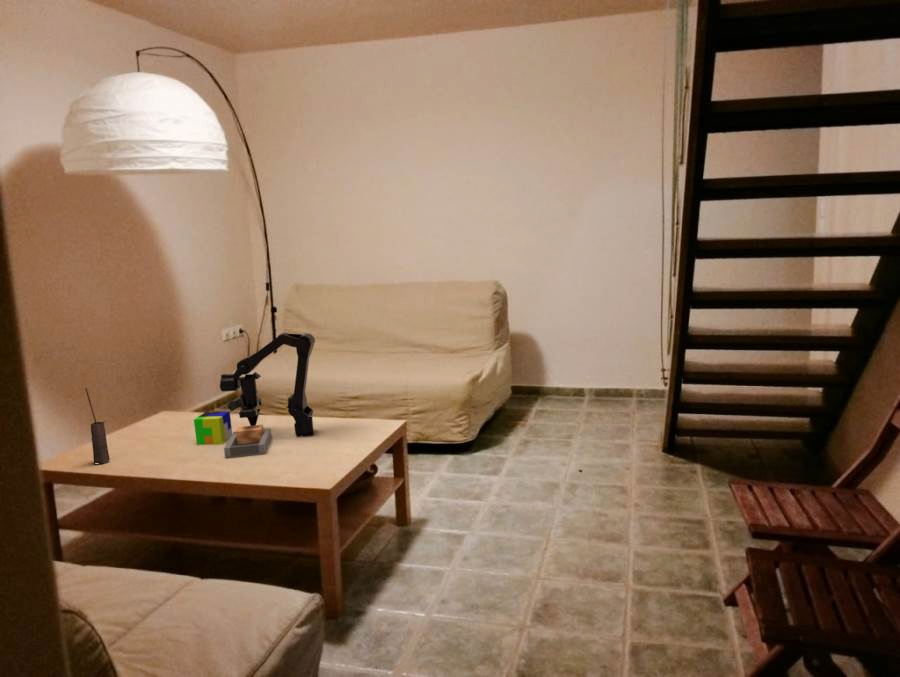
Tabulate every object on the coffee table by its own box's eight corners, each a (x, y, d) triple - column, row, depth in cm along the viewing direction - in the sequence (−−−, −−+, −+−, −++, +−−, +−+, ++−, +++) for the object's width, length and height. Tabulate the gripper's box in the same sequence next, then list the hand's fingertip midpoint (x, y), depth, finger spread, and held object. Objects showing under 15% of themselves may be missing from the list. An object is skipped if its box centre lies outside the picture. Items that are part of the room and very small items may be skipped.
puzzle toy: (232, 435, 274) (229, 411, 272) (221, 444, 264) (218, 418, 262) (208, 436, 275) (205, 412, 273) (196, 444, 265) (193, 419, 263)
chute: (271, 437, 268) (270, 428, 268) (265, 454, 249) (264, 444, 248) (234, 440, 267) (233, 431, 266) (225, 458, 247) (224, 448, 246)
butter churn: (124, 456, 256) (113, 383, 251) (111, 465, 246) (99, 389, 242) (99, 457, 256) (88, 384, 251) (85, 467, 247) (73, 390, 242)
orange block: (264, 437, 266) (262, 424, 265) (262, 442, 260) (260, 429, 259) (239, 439, 265) (238, 427, 264) (237, 444, 259) (235, 431, 258)
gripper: (231, 386, 276) (236, 424, 279) (223, 398, 258) (228, 438, 260) (260, 384, 277) (264, 421, 280) (253, 395, 259) (258, 435, 262)
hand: (253, 428), depth 270 cm, fingers closed
